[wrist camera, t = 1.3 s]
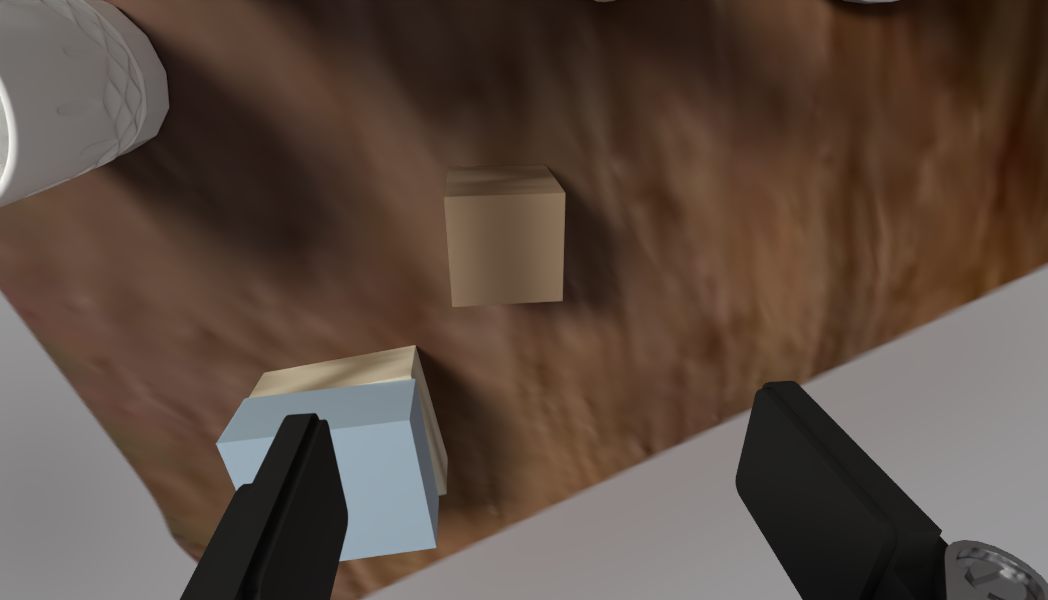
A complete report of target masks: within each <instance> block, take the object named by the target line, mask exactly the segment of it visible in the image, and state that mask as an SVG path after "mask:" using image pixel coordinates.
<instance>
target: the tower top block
mask: <svg viewBox="0 0 1048 600" xmlns="http://www.w3.org/2000/svg"><path fill="white" fill-rule="evenodd" d="M306 413H316V414H317V415H318V417H319V420H322V419H326V420H327V421H328V424H329V428H330V433H331V437H332V442H333V446H334V451H335V455H336V460H337V464H338V469H339V473H340V478H341V482H342V486H343V491H344V495H345V500H346V504H347V509H348V527H347V532H346V536H345V540H344V544H343V548H342V552H341V556H340V560H339V561H344V560H351V559H359V558H366V557H373V556H380V555H387V554H395V553H402V552H409V551H416V550H423V549H430V548H436V544H437V526H438V507H439V496H438V491H437V486H436V481H435V476H434V471H433V466H432V460H431V455H430V450H429V445H428V440H427V435H426V430H425V425H424V420H423V414H422V409H421V404H420V399H419V394H418V389H417V384H416V379H407V380H398V381H390V382H381V383H373V384H364V385H356V386H347V387H339V388H330V389H322V390H313V391H305V392H296V393H287V394H279V395H270V396H262V397H253V398H245V399H244V400H243V402H242V404H241V405H240V407H239V408H238V410H237V411H236V413H235V415H234V416H233V418H232V419H231V421H230V423H229V424H228V426H227V427H226V429H225V431H224V432H223V434H222V435H221V437H220V438H219V440H218V442H217V443H216V444H217V447H218V449H219V451H220V454H221V456H222V458H223V461H224V463H225V465H226V468H227V470H228V472H229V475H230V477H231V479H232V481H233V484H234V486H235V488H236V491H237V490H238V488H239V487H240V486H242V485H243V484H250V483H252V482H253V480H254V478H255V476H256V474H257V472H258V470H259V468H260V466H261V464H262V462H263V460H264V458H265V456H266V454H267V452H268V450H269V448H270V446H271V444H272V442H273V440H274V437H275V435H276V433H277V431H278V429H279V427H280V425H281V423H282V421H283V419H284V418H285V416H287V415H291V414H306Z"/></svg>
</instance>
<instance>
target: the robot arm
mask: <svg viewBox="0 0 1048 600" xmlns="http://www.w3.org/2000/svg"><path fill="white" fill-rule="evenodd" d="M843 1H848V2H856V3H864V4H871V3H883V2H893V1H898V0H843ZM736 488H737V491H738V494H739V496H740V497H741V499H742V501H743V502H744V504H745V505H746V507H747V509H748V510H749V512H750V514H751V515H752V517H753V519H754V520H755V522H756V524H757V525H758V527H759V529H760V530H761V532H762V534H763V535H764V537H765V538H766V540H767V542H768V543H769V545H770V547H771V548H772V550H773V552H774V553H775V555H776V556H777V558H778V560H779V561H780V563H781V565H782V566H783V568H784V570H785V571H786V573H787V575H788V576H789V578H790V580H791V581H792V583H793V584H794V586H795V588H796V589H797V591H798V593H799V594H800V596H801V598H802V599H803V600H1048V583H1047V582H1046V581H1045V580H1044V579H1043V577H1042V576H1041V575H1039V574H1038V573H1037V572H1036V571H1035V570H1034V569H1032V568H1031V567H1030V566H1029V565H1028V564H1026V563H1025V562H1023V561H1021V560H1020V559H1018V558H1017V557H1015V556H1013V555H1012V554H1009V553H1008V552H1005V551H1003V550H1001V549H999V548H997V547H995V546H992V545H988V544H985V543H982V542H978V541H968V540H962V541H957V542H953V543H952V544H951V545H948V544H947V543H946V542H945V541H944V540H943V539H942V538H941V537H940V534H941V532H942V530H941V529H940V528H939V527H938V526H937V525H936V524H935V523H934V522H933V521H932V520H931V519H930V518H929V517H928V516H927V515H926V514H925V513H924V512H923V511H922V510H921V509H920V508H919V507H918V506H917V505H916V504H915V503H914V502H913V501H912V500H911V499H910V498H909V497H908V496H907V495H906V494H905V493H904V492H903V491H902V489H901V488H900V487H899V486H898V485H897V484H896V483H894V481H893V480H892V479H891V478H890V477H889V476H888V475H887V474H886V473H885V472H884V471H883V470H882V469H881V468H880V467H879V466H878V465H877V464H876V463H875V462H874V461H873V460H872V459H871V458H870V457H869V456H868V455H867V454H866V453H865V452H864V451H863V450H862V449H861V448H860V447H859V446H858V445H857V444H856V443H855V442H854V441H853V440H852V439H851V438H850V437H849V435H847V434H846V432H845V431H844V430H843V429H842V428H841V427H840V426H839V425H838V424H837V423H836V422H835V421H834V420H833V419H832V418H831V417H830V416H829V415H828V414H827V413H826V412H825V411H824V410H823V409H822V408H821V407H820V406H819V405H818V404H817V403H816V402H815V401H814V400H813V399H812V398H811V397H810V396H809V395H808V394H807V393H806V392H805V391H804V390H803V389H802V388H801V387H800V386H799V385H798V384H797V383H796V382H794V381H780V382H768V383H765V384H764V385H763V387H762V389H760V390H758V391H757V392H756V395H755V398H754V403H753V407H752V411H751V415H750V419H749V424H748V428H747V432H746V436H745V441H744V445H743V449H742V453H741V457H740V462H739V466H738V470H737V475H736ZM347 527H348V509H347V504H346V500H345V495H344V491H343V486H342V482H341V478H340V473H339V469H338V464H337V460H336V455H335V451H334V446H333V442H332V437H331V433H330V428H329V424H328V421H327V420H326V419H322V420H319V417H318V415H317V414H316V413H306V414H291V415H287V416H285V418H284V419H283V421H282V423H281V425H280V427H279V429H278V431H277V433H276V435H275V437H274V440H273V442H272V444H271V446H270V448H269V450H268V452H267V454H266V456H265V458H264V460H263V462H262V464H261V466H260V468H259V470H258V472H257V474H256V476H255V478H254V480H253V482H252V483H250V484H243V485H242V486H240V487H239V488H238V490H237V491H236V493H235V494H234V496H233V498H232V500H231V502H230V504H229V506H228V508H227V510H226V511H225V513H224V515H223V517H222V519H221V521H220V523H219V525H218V527H217V529H216V531H215V533H214V535H213V537H212V538H211V540H210V542H209V544H208V546H207V548H206V550H205V552H204V554H203V556H202V558H201V560H200V562H199V564H198V565H197V567H196V570H195V571H194V573H193V575H192V577H191V579H190V581H189V583H188V585H187V587H186V589H185V590H184V592H183V595H182V596H181V598H180V600H330V597H331V593H332V588H333V584H334V580H335V576H336V572H337V568H338V564H339V560H340V556H341V552H342V548H343V544H344V540H345V536H346V532H347Z"/></svg>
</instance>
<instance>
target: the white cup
mask: <svg viewBox="0 0 1048 600" xmlns="http://www.w3.org/2000/svg"><path fill="white" fill-rule="evenodd" d="M168 110H169V97H168V85H167V74H166V71H165V69H164V67H163V65H162V63H161V61H160V59H159V58H158V56H157V54H156V52H155V50H154V48H153V46H152V44H151V43H150V41H149V39H148V37H147V36H146V35H145V34H144V33H143V32H142V31H141V30H140V29H139V28H138V27H137V26H136V25H135V24H134V23H132V22H131V21H130V20H129V19H128V18H127V17H126V16H125V15H124V14H123V13H122V12H121V11H119V10H118V9H117V8H116V7H115V6H114V5H112V4H110V3H108V2H105V1H103V0H0V208H2V207H4V206H7V205H9V204H12V203H14V202H17V201H19V200H22V199H24V198H27V197H30V196H32V195H35V194H37V193H40V192H42V191H45V190H47V189H50V188H52V187H55V186H57V185H60V184H62V183H64V182H66V181H68V180H70V179H72V178H75V177H77V176H79V175H81V174H84V173H86V172H88V171H91V170H93V169H95V168H97V167H100V166H102V165H104V164H106V163H108V162H110V161H112V160H114V159H115V158H116V157H118V156H121V155H123V154H126V153H129V152H131V151H132V150H134V149H136V148H137V147H139V146H141V145H142V144H144V143H145V142H147V141H149V140H150V139H152V138H153V137H155V136H156V135H157V134H158V132H159V129H160V127H161V125H162V123H163V121H164V118H165V116H166V114H167V112H168Z"/></svg>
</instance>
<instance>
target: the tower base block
mask: <svg viewBox="0 0 1048 600" xmlns="http://www.w3.org/2000/svg"><path fill="white" fill-rule="evenodd" d="M407 379H416V384H417V389H418V394H419V399H420V404H421V409H422V414H423V420H424V425H425V430H426V435H427V440H428V445H429V450H430V455H431V460H432V466H433V471H434V476H435V481H436V486H437V491H438V496H440V495H445V494H446V492H447V464H448V457H447V454H446V450H445V447H444V443H443V440H442V436H441V433H440V429H439V426H438V422H437V419H436V415H435V412H434V408H433V405H432V401H431V398H430V394H429V391H428V387H427V384H426V380H425V377H424V373H423V370H422V366H421V363H420V359H419V356H418V352H417V349H416V345H414V346H409V347H403V348H398V349H392V350H387V351H381V352H376V353H370V354H365V355H360V356H354V357H349V358H343V359H338V360H332V361H327V362H321V363H316V364H310V365H305V366H299V367H294V368H288V369H283V370H278V371H272V372H267V373H264V374H263V376H262V377H261V379H260V380H259V382H258V384H257V385H256V387H255V389H254V390H253V392H252V393H251V395H250V397H249V398H253V397H262V396H270V395H279V394H287V393H296V392H305V391H313V390H322V389H330V388H339V387H347V386H356V385H364V384H373V383H381V382H390V381H398V380H407Z"/></svg>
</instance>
